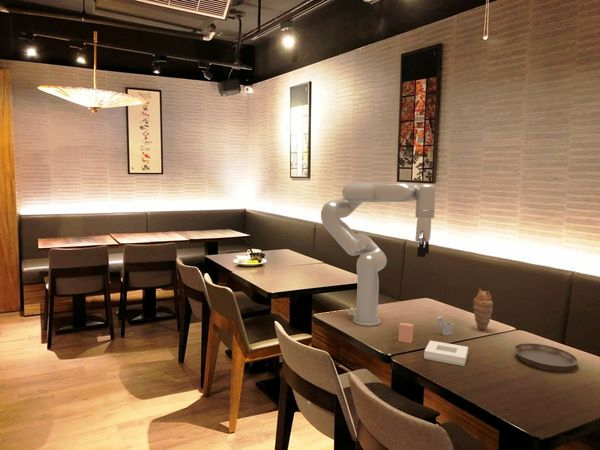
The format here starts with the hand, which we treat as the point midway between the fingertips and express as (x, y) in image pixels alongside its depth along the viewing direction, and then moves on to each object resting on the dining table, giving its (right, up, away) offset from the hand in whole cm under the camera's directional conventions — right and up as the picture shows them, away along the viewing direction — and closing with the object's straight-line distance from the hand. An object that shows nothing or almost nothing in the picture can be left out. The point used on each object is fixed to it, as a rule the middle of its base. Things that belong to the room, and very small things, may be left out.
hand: (423, 255), depth 195 cm
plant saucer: (+38, -38, -24) cm, 59 cm away
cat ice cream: (+28, -34, +9) cm, 45 cm away
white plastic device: (+10, -34, +2) cm, 35 cm away
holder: (+3, -36, -22) cm, 43 cm away
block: (-9, -34, -7) cm, 36 cm away
